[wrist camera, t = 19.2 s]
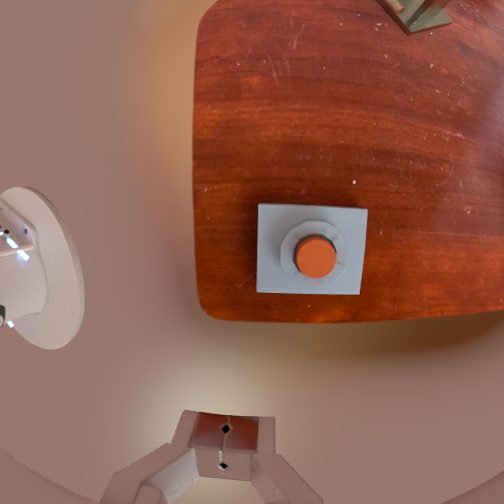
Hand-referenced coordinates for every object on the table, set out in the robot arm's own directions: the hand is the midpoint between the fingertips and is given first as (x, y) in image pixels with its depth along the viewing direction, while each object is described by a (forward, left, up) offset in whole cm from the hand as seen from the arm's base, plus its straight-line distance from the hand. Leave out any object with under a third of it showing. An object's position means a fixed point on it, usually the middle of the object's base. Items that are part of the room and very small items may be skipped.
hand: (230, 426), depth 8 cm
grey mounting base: (+3, +4, -23) cm, 24 cm away
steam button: (+3, +4, -20) cm, 20 cm away
